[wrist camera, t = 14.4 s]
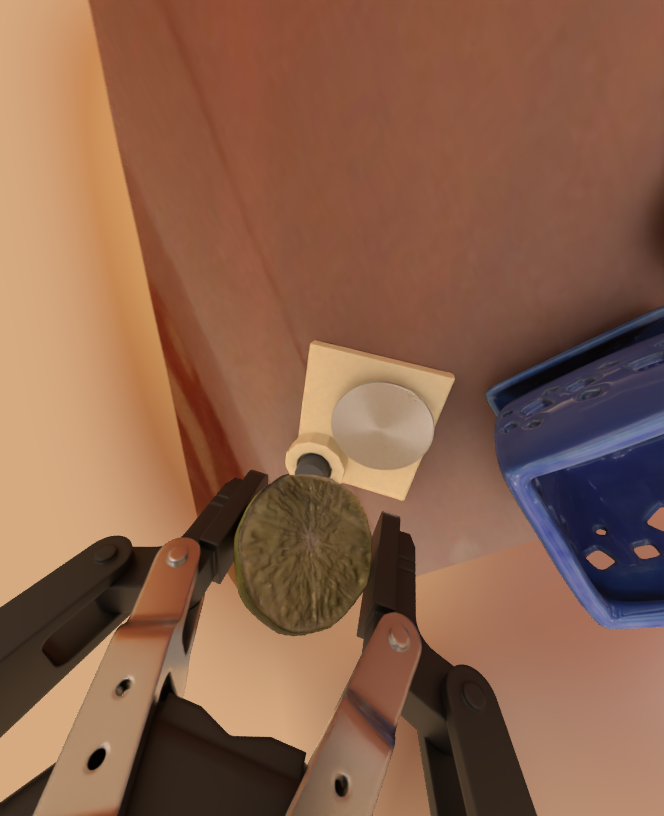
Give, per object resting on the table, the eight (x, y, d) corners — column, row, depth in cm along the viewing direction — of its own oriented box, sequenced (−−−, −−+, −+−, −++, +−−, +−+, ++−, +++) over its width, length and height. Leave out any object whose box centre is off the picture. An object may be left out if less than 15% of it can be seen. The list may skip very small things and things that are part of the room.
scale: (309, 338, 25) (297, 348, 23) (453, 373, 24) (458, 388, 21) (293, 462, 33) (283, 480, 30) (402, 496, 31) (401, 518, 28)
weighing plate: (341, 369, 23) (340, 370, 22) (450, 396, 22) (450, 398, 21) (325, 452, 27) (324, 454, 27) (415, 478, 26) (415, 481, 25)
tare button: (302, 449, 28) (296, 460, 26) (332, 458, 27) (327, 470, 26) (299, 472, 29) (292, 484, 28) (327, 481, 29) (322, 493, 28)
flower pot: (458, 380, 24) (492, 477, 14) (667, 272, 18) (1011, 300, 8) (529, 491, 27) (600, 637, 17) (727, 432, 21) (1026, 605, 11)
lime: (264, 452, 12) (183, 560, 8) (379, 466, 11) (357, 600, 7) (278, 525, 14) (220, 642, 10) (376, 544, 13) (358, 684, 9)
